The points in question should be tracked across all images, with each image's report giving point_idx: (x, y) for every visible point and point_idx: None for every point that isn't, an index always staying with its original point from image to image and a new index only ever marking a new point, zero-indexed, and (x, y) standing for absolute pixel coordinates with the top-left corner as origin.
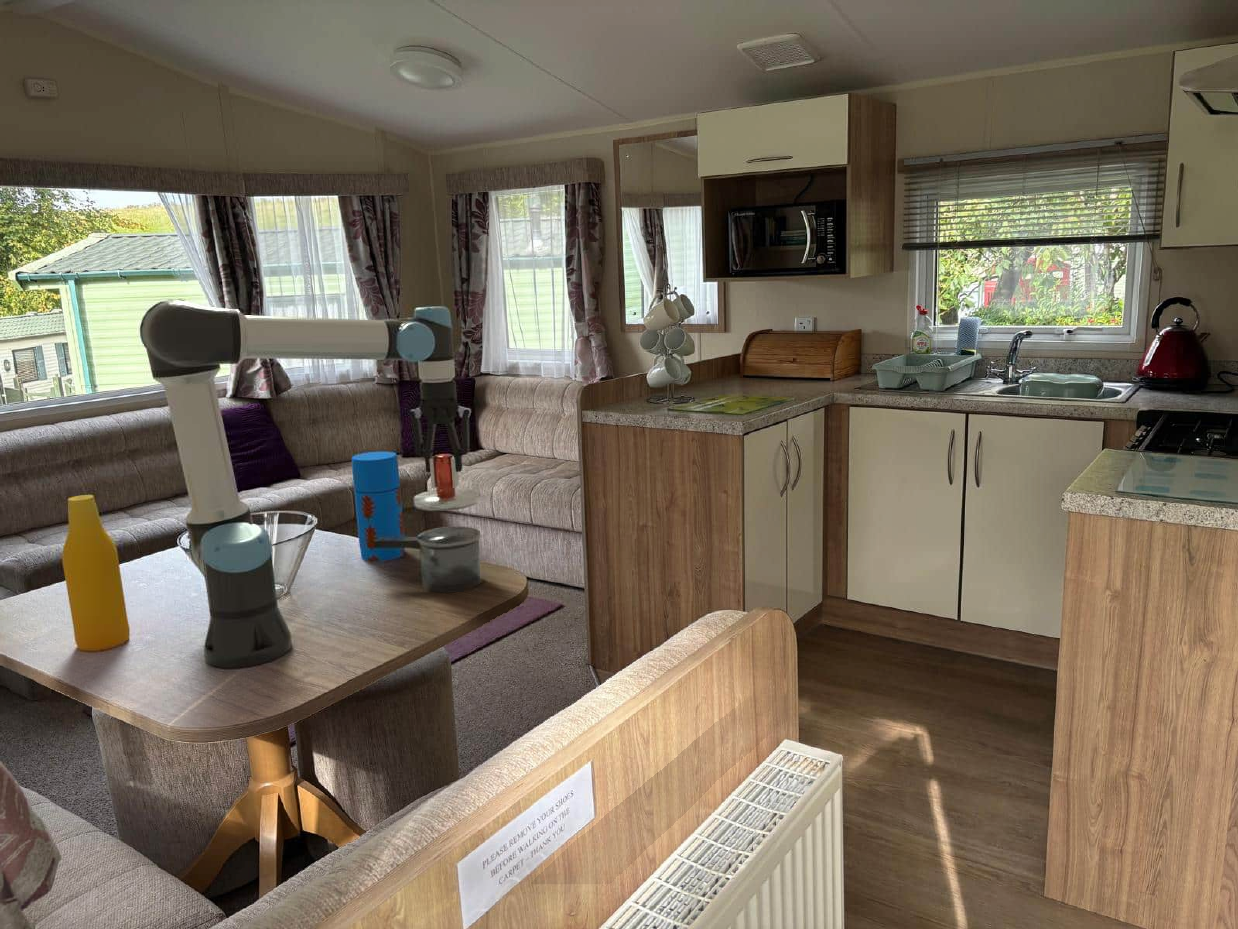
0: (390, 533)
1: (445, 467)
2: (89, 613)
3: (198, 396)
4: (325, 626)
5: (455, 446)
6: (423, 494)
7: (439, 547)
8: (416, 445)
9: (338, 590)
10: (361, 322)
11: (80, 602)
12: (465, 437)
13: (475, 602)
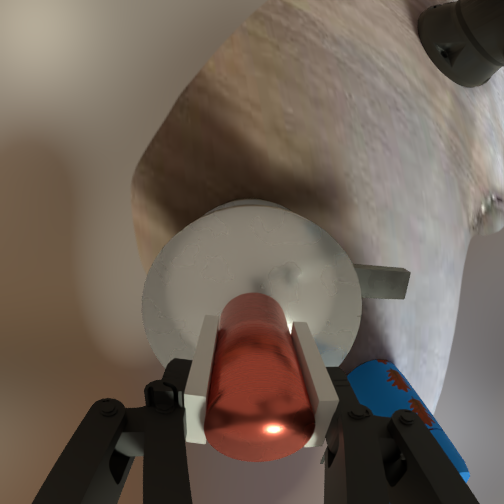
0: (371, 391)
1: (242, 357)
2: None
3: None
4: (407, 89)
5: (156, 449)
6: (332, 350)
7: (263, 200)
8: (431, 448)
9: (422, 236)
10: None
11: None
12: (60, 475)
13: (194, 142)
